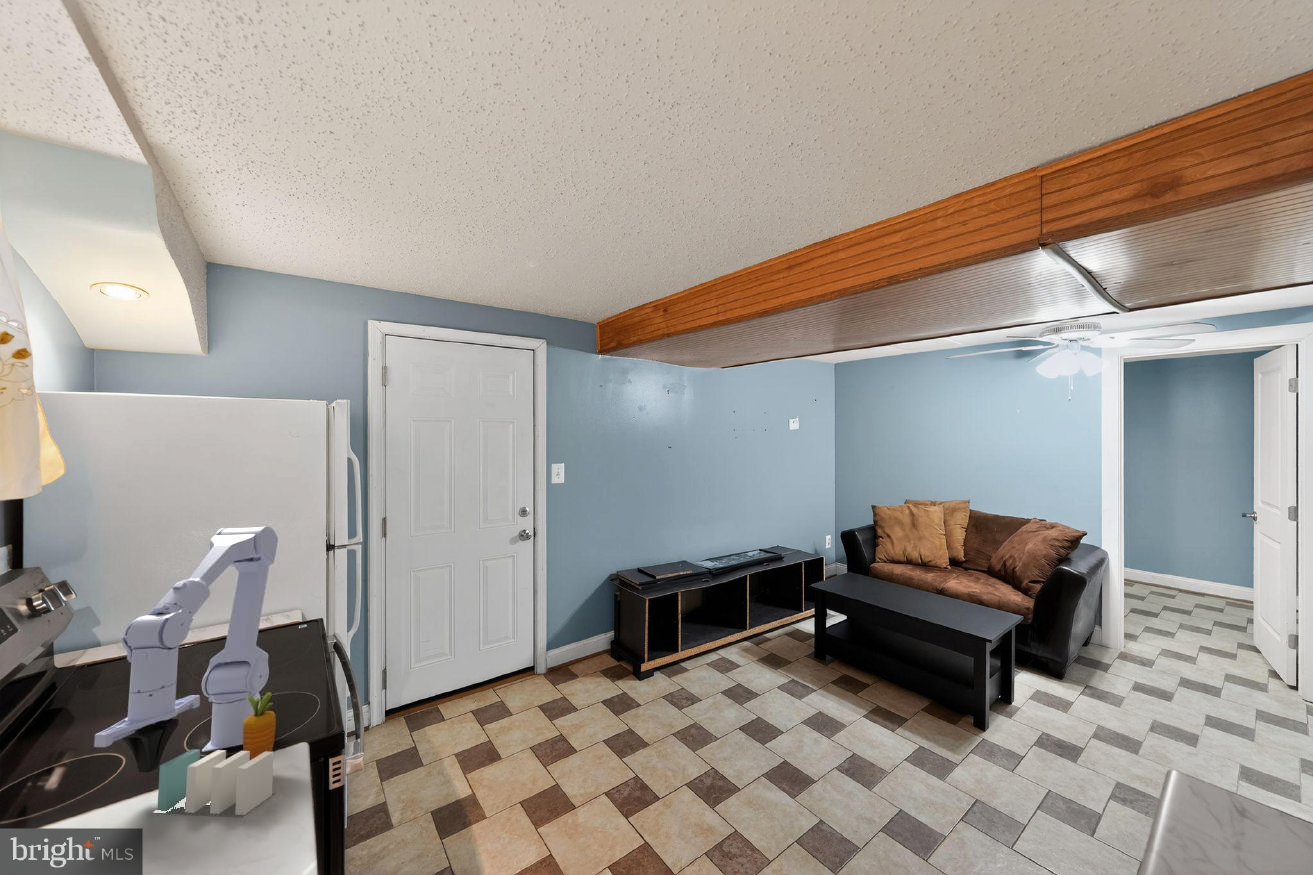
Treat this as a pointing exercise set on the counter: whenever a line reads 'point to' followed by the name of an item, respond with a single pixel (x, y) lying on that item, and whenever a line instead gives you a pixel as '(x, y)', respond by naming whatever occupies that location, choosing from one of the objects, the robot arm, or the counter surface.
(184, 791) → the tile
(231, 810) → the mat
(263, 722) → the carrot
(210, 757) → the domino
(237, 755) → the domino
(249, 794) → the domino
